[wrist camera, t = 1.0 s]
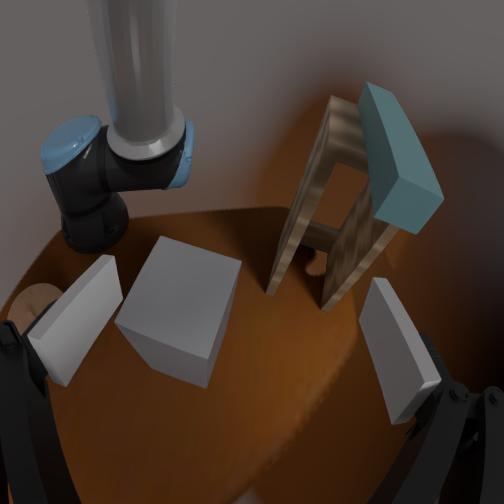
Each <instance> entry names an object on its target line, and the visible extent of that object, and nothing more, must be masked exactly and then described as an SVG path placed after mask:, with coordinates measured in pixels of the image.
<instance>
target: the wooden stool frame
mask: <svg viewBox="0 0 504 504" xmlns="http://www.w3.org/2000/svg"><path fill="white" fill-rule="evenodd" d="M336 162H337V163H340V164H343V165H346V166H348V167H351V168H354V169H356V170H359V171H361V172H364V173H366V174H369V168H368V161H367V154H366V148H365V142H364V136H363V130H362V125H361V120H360V115H359V110H358V105H356V104H354V103H351V102H349V101H346V100H343V99H340V98H338V97H335V96H332V95H331V96H330V99H329V102H328V105H327V108H326V111H325V114H324V117H323V119H322V122H321V125H320V128H319V131H318V134H317V137H316V140H315V142H314V145H313V148H312V151H311V154H310V156H309V159H308V162H307V165H306V167H305V170H304V173H303V176H302V179H301V181H300V184H299V187H298V190H297V192H296V195H295V198H294V200H293V203H292V206H291V209H290V211H289V214H288V217H287V219H286V222H285V225H284V227H283V230H282V233H281V237H280V240H279V244H278V248H277V252H276V256H275V260H274V263H273V267H272V271H271V275H270V279H269V282H268V286H267V290H266V293H265V294H267V295H271V296H274V294H275V292H276V290H277V288H278V286H279V284H280V282H281V280H282V278H283V276H284V274H285V272H286V270H287V268H288V266H289V264H290V262H291V260H292V258H293V255H294V253H295V251H296V249H297V247H298V245H299V244H301V245H304V246H307V247H310V248H313V249H317V250H320V251H323V252H326V253H328V257H327V264H326V273H325V281H324V289H323V296H322V303H321V310H322V311H326V312H329V311H330V309H331V308H332V307H333V306H334V305H335V304H336V303H337V302H338V301H339V300H340V299H341V298H342V296H343V295H344V294H345V293H346V292H347V291H348V290H349V289H350V288H351V286H352V285H353V284H354V283H355V282H356V281H357V280H358V278H359V277H360V276H361V275H362V274H363V273H364V272H365V270H366V269H367V268H368V267H369V266H370V265H371V263H372V262H373V261H374V260H375V258H376V257H377V256H378V255H379V254H380V252H381V251H382V250H383V249H384V248H385V246H386V245H387V244H388V243H389V241H390V240H391V239H392V238H393V236H394V235H395V234H396V232H397V231H398V230H399V229H400V228H399V227H397V226H395V225H392V224H390V223H387V222H385V221H382V220H379V219H377V218H374V215H373V204H372V193H371V184H370V176H369V178H368V180H367V182H366V184H365V185H364V187H363V189H362V191H361V193H360V194H359V196H358V198H357V200H356V202H355V203H354V205H353V207H352V208H351V210H350V212H349V214H348V216H347V217H346V219H345V221H344V223H343V224H342V226H341V227H340V229H339V230H338V229H335V228H333V227H330V226H327V225H324V224H321V223H318V222H315V221H312V220H310V219H311V217H312V215H313V213H314V211H315V208H316V206H317V204H318V202H319V200H320V197H321V195H322V193H323V191H324V189H325V186H326V184H327V182H328V179H329V177H330V175H331V173H332V170H333V168H334V166H335V164H336Z"/></svg>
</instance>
